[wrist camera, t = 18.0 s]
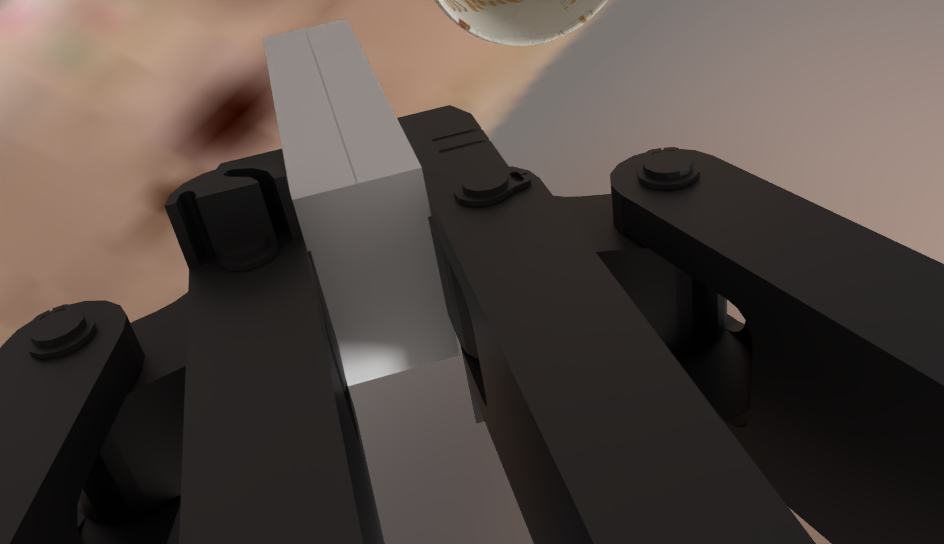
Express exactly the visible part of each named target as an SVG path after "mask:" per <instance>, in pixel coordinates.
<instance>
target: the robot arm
mask: <svg viewBox="0 0 944 544" xmlns="http://www.w3.org/2000/svg"><path fill="white" fill-rule="evenodd" d="M263 43H264V48H265V54H266V60H267V65H268V71H269V77H270V82H271V88H272V94H273V99H274V105H275V111H276V116H277V122H278V127H279V133H280V139H281V144H282V149H279V150H275V151H270V152H266V153H262V154H258V155H254V156H250V157H246V158H242V159H238V160H233V161H229V162H225V163H221V164H220V165H219V166H218V168H217V169H216V170H213V171H210V172H207V173H204V174H201V175H199V176H197V177H196V178H194V179H192V180H190V181H188V182H186V183H184V184H182V185H181V186H180V187H179V188H178V189H176V190H175V191H174V192H173V193H172V194H171V195H170V196H169V198H168V200H167V202H166V204H165V209H166V211H167V214H168V216H169V219H170V221H171V224H172V227H173V229H174V232H175V234H176V237H177V239H178V242H179V245H180V247H181V250H182V252H183V255H184V257H185V260H186V262H187V265H188V268H189V291H188V292H187V293H186V294H185V295H183V296H182V297H180V298H179V299H178V300H176V301H175V302H173V303H171V304H170V305H168V306H166V307H164V308H162V309H160V310H158V311H156V312H154V313H152V314H149V315H147V316H145V317H143V318H140V319H138V320H136V321H134V322H132V323H130V322H129V319H128V317H127V315H126V314H125V312H124V311H123V309H122V307H121V306H120V305H117V304H114V303H111V302H108V301H83V302H79V303H75V304H71V305H69V304H66V305H62V306H59V307H56V308H53V311H49V310H48V311H46V312H44V313H42V314H40V315H38V316H36V317H35V318H34V320H32V321H31V322H29V323H28V324H26V325H24V326H23V327H21V328H20V329H18V330H17V331H16V332H15V333H14V334H13V335H12V336H11V337H10V338H9V339H8V340H7V341H6V342H5V343H4V344H3V345H2V347H1V348H0V544H385V543H384V538H383V534H382V530H381V525H380V520H379V516H378V511H377V507H376V503H375V498H374V493H373V489H372V485H371V480H370V475H369V471H368V466H367V462H366V457H365V453H364V448H363V444H362V439H361V435H360V430H359V426H358V421H357V417H356V412H355V408H354V406H353V402H352V398H351V395H350V392H349V388H348V386H351V385H355V384H358V383H361V382H365V381H369V380H372V379H376V378H379V377H383V376H386V375H390V374H394V373H397V372H401V371H404V370H408V369H411V368H415V367H418V366H422V365H425V364H429V363H433V362H436V361H440V360H443V359H446V358H450V357H454V356H457V355H459V349H458V345H457V339H456V335H457V337H458V339H459V342H460V344H461V349H462V354H463V359H464V364H465V369H466V374H467V379H468V383H469V389H470V394H471V399H472V404H473V409H474V414H475V419H476V423H479V422H482V421H485V423H486V426H487V428H488V431H489V433H490V436H491V438H492V441H493V443H494V445H495V448H496V451H497V453H498V455H499V458H500V461H501V463H502V466H503V468H504V471H505V473H506V476H507V478H508V480H509V483H510V486H511V488H512V490H513V493H514V496H515V498H516V501H517V503H518V506H519V508H520V511H521V513H522V515H523V518H524V520H525V523H526V525H527V528H528V530H529V533H530V535H531V538H532V540H533V543H534V544H816V543H815V542H814V541H813V539H812V538H811V537H810V536H809V534H808V533H807V531H806V530H805V529H804V528H803V526H802V525H801V524H800V522H799V521H798V520H797V518H796V517H795V516H794V514H793V513H792V512H791V510H793V511H794V512H795V513H796V514H798V516H800V517H801V518H802V519H803V520H804V521H806V522H807V523H808V524H809V525H810V526H812V527H813V528H814V529H815V530H816V531H817V532H819V533H820V534H821V535H822V536H824V537H825V538H826V539H827V540H828V541H829V542H830V543H832V544H944V264H942V263H940V262H938V261H936V260H934V259H931V258H929V257H927V256H925V255H923V254H921V253H918V252H917V251H915V250H912V249H910V248H908V247H906V246H904V245H902V244H899V243H898V242H895V241H893V240H891V239H889V238H887V237H885V236H883V235H880V234H878V233H876V232H874V231H872V230H870V229H868V228H866V227H863V226H861V225H859V224H857V223H855V222H853V221H851V220H849V219H847V218H844V217H842V216H840V215H838V214H836V213H833V212H832V211H830V210H827V209H825V208H823V207H821V206H819V205H817V204H815V203H813V202H810V201H808V200H806V199H804V198H802V197H800V196H798V195H795V194H793V193H791V192H789V191H787V190H785V189H783V188H781V187H779V186H776V185H774V184H772V183H770V182H768V181H765V180H764V179H761V178H759V177H757V176H755V175H753V174H751V173H749V172H747V171H744V170H742V169H740V168H738V167H736V166H734V165H732V164H729V163H727V162H725V161H723V160H721V159H719V158H717V157H715V156H712V155H709V154H706V153H702V152H699V151H696V150H685V149H679V148H675V147H670V148H664V150H661V148H658V149H652V150H649V151H647V152H646V153H642V154H639V155H635V156H632V157H630V158H628V159H627V160H625V161H623V162H621V163H619V164H618V165H617V166H616V168H615V169H614V170H613V171H612V173H611V174H610V179H611V191H612V192H611V193H612V194H605V195H593V196H581V197H560V196H553V195H552V194H551V193H550V191H549V190H548V189H547V187H546V186H545V185H544V183H543V182H542V181H541V179H540V178H539V177H537V176H536V175H534V174H533V173H532V172H530V171H528V170H524V169H520V168H517V167H509V166H508V165H507V164H506V162H505V161H504V160H503V158H502V157H501V155H500V154H499V152H498V151H497V150H496V148H495V147H494V145H493V144H492V142H491V141H489V138H488V137H487V135H486V134H485V133H484V131H483V130H481V127H480V126H479V124H478V123H477V121H476V120H475V118H474V117H473V116H472V114H470V113H468V112H465V111H463V110H460V109H458V108H455V107H453V106H450V105H449V106H445V107H440V108H436V109H432V110H428V111H424V112H420V113H416V114H412V115H408V116H403V117H399V118H397V117H396V115H395V113H394V111H393V109H392V107H391V105H390V103H389V101H388V99H387V97H386V95H385V93H384V91H383V89H382V87H381V85H380V83H379V81H378V79H377V77H376V75H375V73H374V71H373V69H372V67H371V65H370V63H369V61H368V59H367V57H366V55H365V53H364V51H363V49H362V47H361V45H360V43H359V41H358V39H357V37H356V35H355V33H354V31H353V29H352V27H351V25H350V23H349V22H348V20H347V19H342V20H338V21H334V22H329V23H325V24H320V25H316V26H311V27H307V28H303V29H298V30H294V31H289V32H285V33H280V34H276V35H272V36H267V37H263ZM727 300H729V301H730V302H731V303H732V304H733V305H735V306H736V307H737V308H738V310H739V311H740V313H741V314H742V315H743V317H744V318H745V320H746V321H745V324H743V323H741V322H739V321H737V320H736V319H734V318H733V317H731V316H730V315H728V314H727ZM455 332H456V335H455ZM788 507H789V508H790V509H791V510H790V509H789V508H788Z"/></svg>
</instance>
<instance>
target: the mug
mask: <svg viewBox="0 0 944 544" xmlns="http://www.w3.org/2000/svg"><path fill="white" fill-rule="evenodd" d="M435 1H436V3H437V4H438V5H439V7H440V8H441V9H442V10H443V11H444V13H445V14H446V15H447V16H448V17H449V18H450V19H451V20H453V21H454V22H455V23H456V24H457V25H458V26H460V27H461V28H463V29H464V30H466V31H467V32H469V33H471V34H472V35H474V36H476V37H479V38H481V39H483V40H486V41H489V42H493V43H497V44H502V45H509V46H529V45H536V44H541V43H545V42H549V41H552V40H554V39H557V38H559V37H562V36H564V35H566V34H568V33H570V32H571V31H573V30H575V29H576V28H578V27H579V26H581V25H582V24H584V23H585V22H586V21H587V20H589V19H590V18H591V17H592V16H593V15H594V14H595V13H596V12H597V11H598V10H599V9H600V8H601V7H602V6H603V5H604V4H605V3H606V1H607V0H435Z"/></svg>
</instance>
